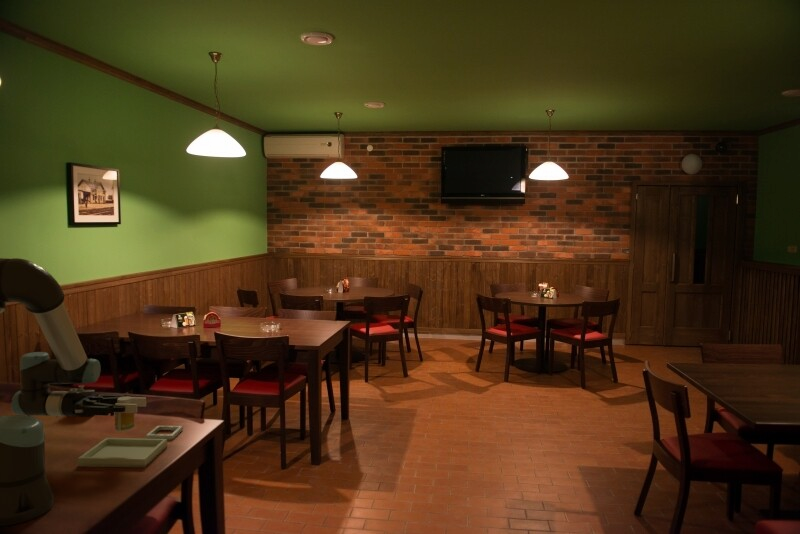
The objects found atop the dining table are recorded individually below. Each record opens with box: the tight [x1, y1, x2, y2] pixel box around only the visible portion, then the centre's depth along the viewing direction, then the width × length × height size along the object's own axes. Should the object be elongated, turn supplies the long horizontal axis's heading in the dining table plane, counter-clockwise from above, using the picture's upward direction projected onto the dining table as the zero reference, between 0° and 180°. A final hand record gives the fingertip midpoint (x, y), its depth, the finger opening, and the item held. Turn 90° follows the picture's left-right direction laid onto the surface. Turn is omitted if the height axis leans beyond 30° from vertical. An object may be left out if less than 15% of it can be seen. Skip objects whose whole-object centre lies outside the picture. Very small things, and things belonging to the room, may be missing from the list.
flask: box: [68, 384, 96, 417], centre depth 208 cm, size 10×3×12 cm, turn 88°
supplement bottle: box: [114, 395, 135, 432], centre depth 172 cm, size 5×5×10 cm
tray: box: [77, 437, 168, 468], centre depth 172 cm, size 16×20×2 cm
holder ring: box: [145, 425, 184, 441], centre depth 190 cm, size 9×9×2 cm
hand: (141, 405), depth 172 cm, fingers closed on supplement bottle, 5 cm apart
